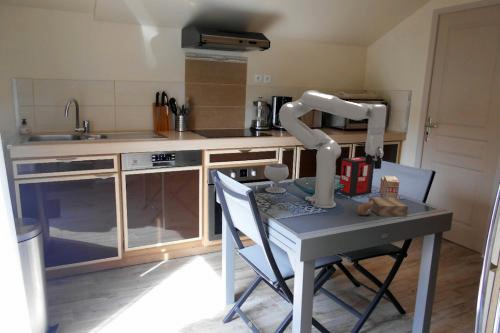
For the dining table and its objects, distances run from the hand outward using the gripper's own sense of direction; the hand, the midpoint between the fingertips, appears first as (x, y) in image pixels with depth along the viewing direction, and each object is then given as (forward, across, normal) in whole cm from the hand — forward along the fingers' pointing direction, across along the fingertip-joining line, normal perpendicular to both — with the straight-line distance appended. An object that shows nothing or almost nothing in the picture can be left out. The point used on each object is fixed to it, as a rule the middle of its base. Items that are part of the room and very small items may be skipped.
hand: (372, 166), depth 183 cm
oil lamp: (+24, +4, -3) cm, 24 cm away
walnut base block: (+23, -2, +10) cm, 26 cm away
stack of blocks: (+24, -24, +21) cm, 40 cm away
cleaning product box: (+23, -33, +6) cm, 41 cm away
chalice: (+22, -37, -40) cm, 59 cm away
